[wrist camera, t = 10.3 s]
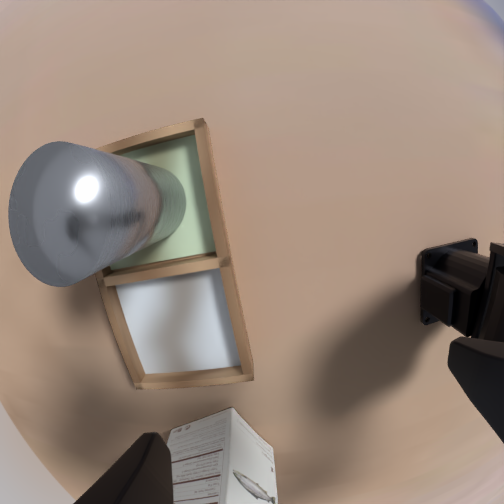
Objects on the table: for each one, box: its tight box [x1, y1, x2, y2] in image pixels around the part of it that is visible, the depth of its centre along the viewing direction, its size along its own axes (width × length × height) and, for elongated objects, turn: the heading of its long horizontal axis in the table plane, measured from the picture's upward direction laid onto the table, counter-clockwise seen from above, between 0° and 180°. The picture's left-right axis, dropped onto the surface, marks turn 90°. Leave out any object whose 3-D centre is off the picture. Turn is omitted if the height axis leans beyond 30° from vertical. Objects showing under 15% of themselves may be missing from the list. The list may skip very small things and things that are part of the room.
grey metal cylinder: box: [9, 141, 186, 287], centre depth 12 cm, size 5×5×10 cm
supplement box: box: [167, 407, 278, 504], centre depth 16 cm, size 7×7×13 cm
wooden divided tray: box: [95, 118, 254, 389], centre depth 18 cm, size 9×17×2 cm, turn 10°
